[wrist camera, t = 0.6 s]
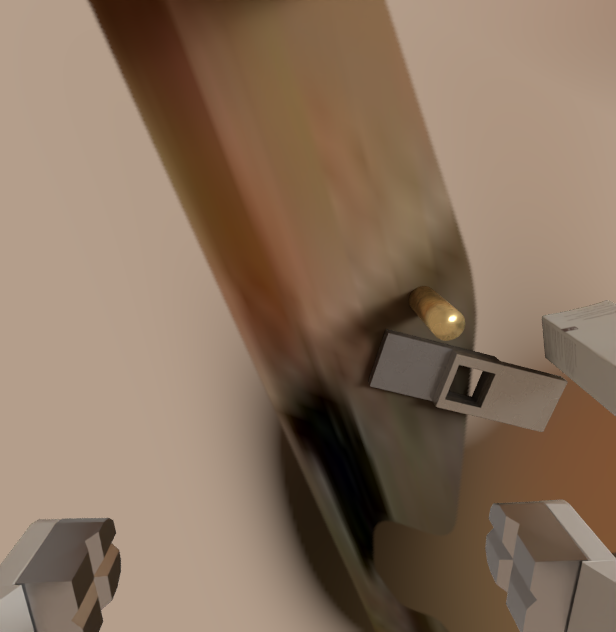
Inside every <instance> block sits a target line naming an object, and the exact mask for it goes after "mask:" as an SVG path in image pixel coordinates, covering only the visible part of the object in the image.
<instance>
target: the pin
mask: <svg viewBox="0 0 616 632" xmlns="http://www.w3.org/2000/svg"><path fill="white" fill-rule="evenodd" d="M409 304H410V307H411V308H412V309H413V310H414V312H415V313H416V314H417V315H418V316H419V317H420V318H421V320H422V321H423V322H424V323H425V324H426V325H427V327H428V328H429V329H430V330H431V331H432V332H433V333H434V335H435V336H436V337H437V338H439V339H441V340H452V339H455V338H457V337H458V336H459V335H460V334H461V333H462V332H463V330H464V327H465V320H464V317H463V315H462V314H461V313H460V312H459V311H458V310H456V309H455V308H454V307H453V306H452V305H451V304H449V303H448V302H447V301H446V300H445V299H443V298H442V297H441V296H440V295H439V294H437V293H436V292H435V291H434V290H433V289H431V288H430V287H427V286H421V287H418V288H416V289H415V290H413V291H412V293H411V294H410V297H409Z"/></svg>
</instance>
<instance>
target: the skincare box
mask: <svg viewBox="0 0 616 632" xmlns="http://www.w3.org/2000/svg"><path fill="white" fill-rule="evenodd" d="M542 324H543V325H542V326H543V336H544V348H545V357H546V358H547V359H548V360H549V361H550V362H552V363H553V364H554V365H555V366H556V367H558V368H559V369H560V370H561V371H562V372H563V373H565V374H566V375H567V376H568V377H569V378H571V379H572V380H573V381H574V382H575V383H577V384H578V385H579V386H580V387H581V388H583V389H584V390H585V391H586V392H587V393H588V394H590V395H591V396H592V397H593V398H595V399H596V400H597V401H598V402H599V403H600V404H602V405H603V406H604V407H605V408H606V409H608V410H609V411H610V412H611V413H612V414H613V415H615V416H616V304H615V303H613V302H611V301H608V300H606V301H603V302H600V303H597V304H594V305H590V306H586V307H582V308H578V309H574V310H569V311H565V312H560V313H556V314H549V315H545V316H542Z"/></svg>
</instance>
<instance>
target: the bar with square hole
mask: <svg viewBox="0 0 616 632" xmlns="http://www.w3.org/2000/svg"><path fill="white" fill-rule="evenodd" d="M459 365H462V366H466V367H470V368H474V369H478V370H482V371H483V372H482V374H481V377H480V379H479V381H478V384H477V386H476V388H475V391H474V393H473V395H472V397H471V396H467V395H463V394H459V393H454V392H450V391H449V388H450V386H451V383H452V381H453V378H454V376H455V374H456V371H457V369H458V366H459ZM368 382H369V385H370V386H371V387H375V388H379V389H383V390H388V391H392V392H396V393H400V394H405V395H409V396H413V397H417V398H421V399H426V400H430V401H433V403H434V405H435V406H436V407H439V408H443V409H447V410H451V411H455V412H460V413H464V414H468V415H472V416H477V417H481V418H485V419H489V420H494V421H498V422H502V423H507V424H511V425H515V426H519V427H523V428H528V429H532V430H536V431H540V432H543V431H544V429H545V427H546V425H547V423H548V421H549V419H550V417H551V415H552V413H553V410H554V408H555V406H556V404H557V402H558V400H559V398H560V396H561V394H562V392H563V390H564V388H565V386H566V384H567V381H566V380H565V379H563V378H562V377H561V376H557V375H553V374H549V373H545V372H541V371H537V370H533V369H529V368H525V367H521V366H517V365H513V364H509V363H505V362H501V361H499V360H498V359H497V358H496V357H495V356H490V355H487V354H483V353H479V352H475V351H471V350H467V349H463V348H459V347H455V346H451V345H448V344H444V343H440V342H436V341H432V340H428V339H424V338H420V337H416V336H412V335H408V334H404V333H400V332H396V331H392V330H388V329H386V330H385V333H384V336H383V339H382V342H381V345H380V348H379V351H378V354H377V356H376V359H375V362H374V365H373V368H372V371H371V374H370V377H369V380H368Z"/></svg>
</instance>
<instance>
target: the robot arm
mask: <svg viewBox="0 0 616 632" xmlns="http://www.w3.org/2000/svg"><path fill="white" fill-rule="evenodd" d="M489 520H490V521H491V523H492V525H493V527H494V528H493V529H492V530H491V531H490V533H489V534H488V535H487V538H486V555H487V562H488V565H489V568H490V571H491V574H492V576H493V578H494V580H495V582H496V584H497V585H498V586H500V587H501V588H502V589H504V590H505V591H506V592H507V593H508V595H507V602H506V604H507V606H508V608H509V610H510V612H511V614H512V616H513V618H514V620H515V622H516V624H517V626H518V628H519V630H520V632H616V558H615V557H614V556H613V555H612V554H611V552H610V551H609V550H608V549H607V548H606V547H605V546H604V544H603V543H602V542H601V541H600V540H599V538H598V537H597V536H596V535H595V534H594V532H593V531H592V530H591V529H590V528H589V527H588V526H587V524H586V523H585V522H584V521H583V520H582V519H581V517H580V516H579V515H578V514H577V512H576V511H575V510H574V509H573V508H572V507H571V505H570V504H569V503H567V502H566V501H564V500H548V501H539V502H518V503H517V502H516V503H494V504H493V505H492V507H491V509H490V515H489ZM115 534H116V530H115V526H114V522H113V520H111V519H110V518H82V519H81V518H77V519H39V520H37V521H35V522H34V523H32V524H31V525H30V526H29V528H28V529H27V531H26V532H25V533H24V534H23V536H22V537H21V538H20V539H19V541H18V542H17V544H16V545H15V546H14V548H13V549H12V550H11V552H10V553H9V554H8V556H7V557H6V558H5V560H4V561H3V562H2V563H1V565H0V632H99V630H100V628H101V626H102V623H103V618H102V613H101V610H102V609H103V608H104V607H105V606H106V605H107V604H109V603H110V602H111V601H112V599H113V597H114V594H115V592H116V589H117V587H118V582H119V577H120V572H121V558H120V552H119V549H118V548H117V547H115V546H114V545H113V544H112V541H113V539H114V536H115Z"/></svg>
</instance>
